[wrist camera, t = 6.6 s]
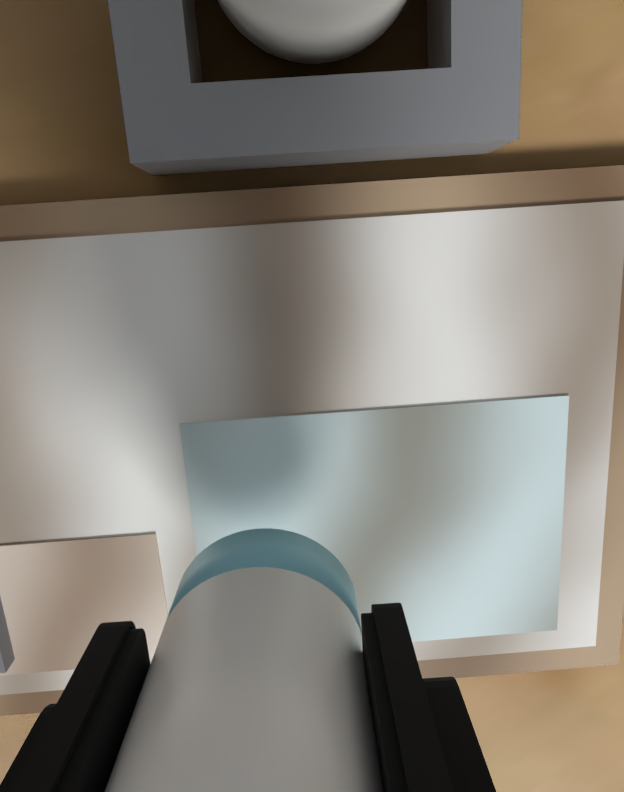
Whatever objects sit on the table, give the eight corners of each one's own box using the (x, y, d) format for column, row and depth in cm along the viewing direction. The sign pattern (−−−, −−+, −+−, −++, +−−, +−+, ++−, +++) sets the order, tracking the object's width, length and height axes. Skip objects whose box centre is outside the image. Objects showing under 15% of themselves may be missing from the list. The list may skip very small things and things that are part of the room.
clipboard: (-50, 707, 17) (-74, 740, 16) (-183, 219, 14) (-228, 216, 12) (609, 652, 17) (632, 682, 16) (648, 165, 14) (681, 157, 13)
